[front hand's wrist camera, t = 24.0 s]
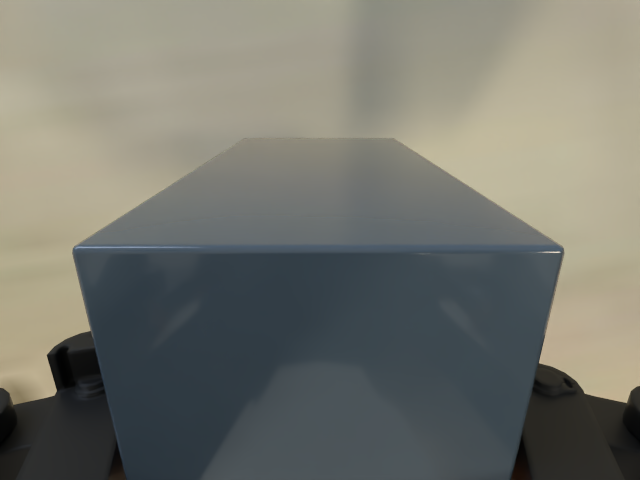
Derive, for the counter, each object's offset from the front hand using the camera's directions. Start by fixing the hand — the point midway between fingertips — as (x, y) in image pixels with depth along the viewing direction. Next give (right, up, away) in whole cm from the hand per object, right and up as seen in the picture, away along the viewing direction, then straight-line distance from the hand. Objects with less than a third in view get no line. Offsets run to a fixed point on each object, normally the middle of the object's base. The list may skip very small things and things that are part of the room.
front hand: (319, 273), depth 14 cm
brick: (0, +1, +2) cm, 2 cm away
